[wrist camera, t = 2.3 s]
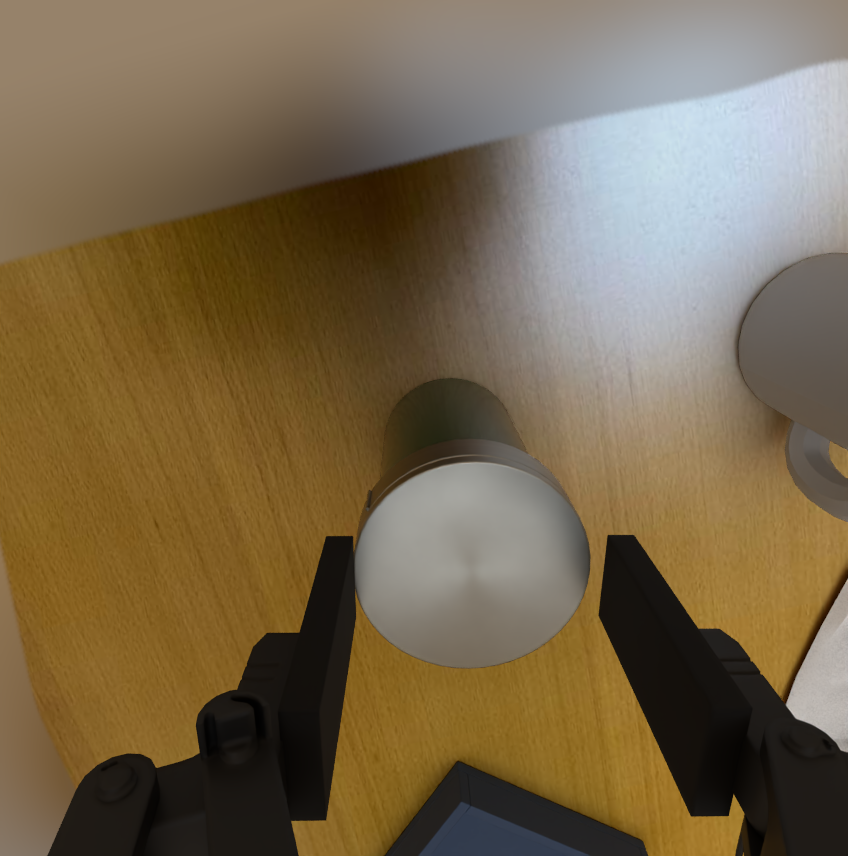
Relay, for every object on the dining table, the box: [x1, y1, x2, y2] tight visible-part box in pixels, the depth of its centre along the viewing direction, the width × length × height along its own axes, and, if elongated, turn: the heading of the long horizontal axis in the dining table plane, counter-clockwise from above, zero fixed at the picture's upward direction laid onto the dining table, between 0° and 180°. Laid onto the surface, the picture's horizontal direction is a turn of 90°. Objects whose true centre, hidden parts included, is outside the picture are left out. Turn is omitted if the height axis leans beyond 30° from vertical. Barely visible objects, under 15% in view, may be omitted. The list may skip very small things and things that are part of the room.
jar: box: [380, 378, 528, 479], centre depth 24 cm, size 6×6×10 cm
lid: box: [354, 439, 590, 668], centre depth 19 cm, size 7×7×2 cm
